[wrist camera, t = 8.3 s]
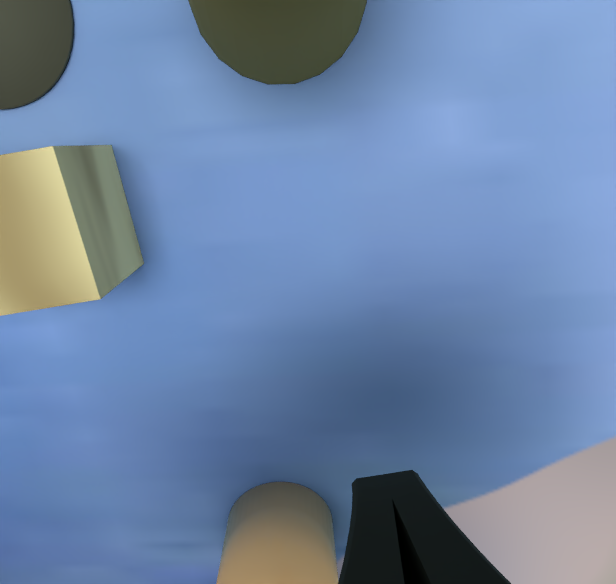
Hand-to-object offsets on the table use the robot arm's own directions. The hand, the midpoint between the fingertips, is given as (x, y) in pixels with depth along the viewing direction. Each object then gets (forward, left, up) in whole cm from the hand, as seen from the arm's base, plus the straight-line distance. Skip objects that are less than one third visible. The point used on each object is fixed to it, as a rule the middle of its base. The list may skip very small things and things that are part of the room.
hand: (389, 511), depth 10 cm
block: (0, +12, -10) cm, 15 cm away
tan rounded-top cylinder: (-10, -2, -10) cm, 14 cm away
